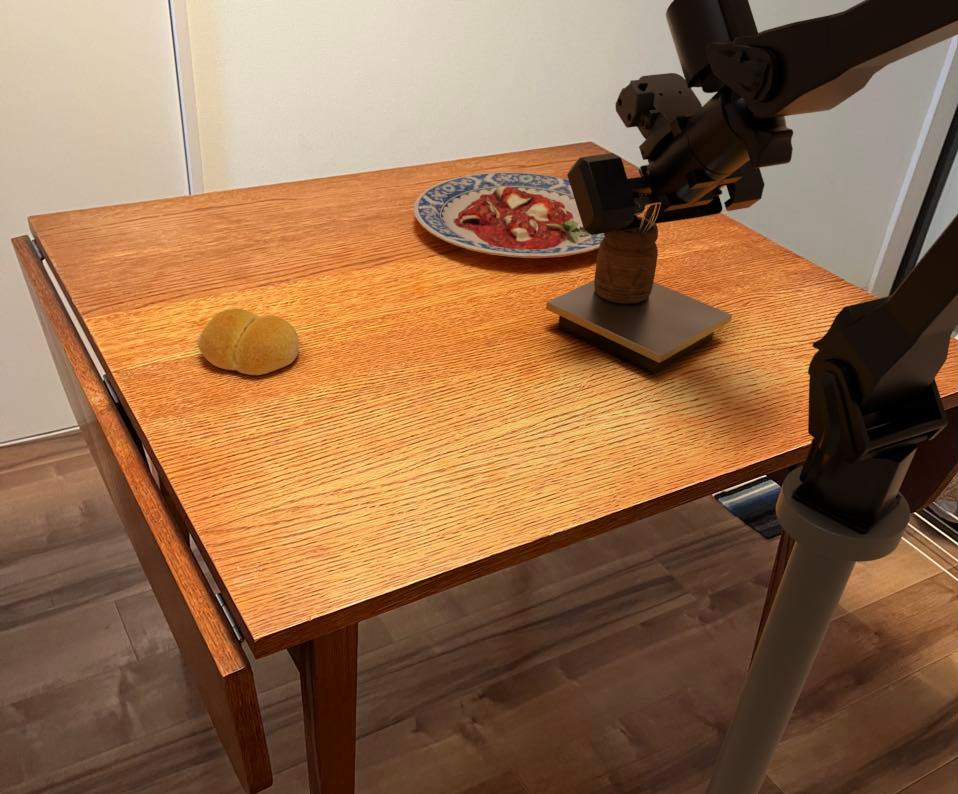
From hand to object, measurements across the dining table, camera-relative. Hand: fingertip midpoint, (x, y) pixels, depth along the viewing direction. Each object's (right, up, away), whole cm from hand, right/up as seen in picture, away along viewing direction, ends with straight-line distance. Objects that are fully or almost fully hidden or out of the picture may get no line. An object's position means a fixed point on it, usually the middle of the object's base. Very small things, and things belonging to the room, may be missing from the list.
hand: (623, 223), depth 90 cm
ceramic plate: (-9, +7, +22) cm, 25 cm away
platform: (+2, -10, +3) cm, 11 cm away
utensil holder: (0, -6, +4) cm, 7 cm away
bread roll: (-36, -14, -3) cm, 38 cm away
